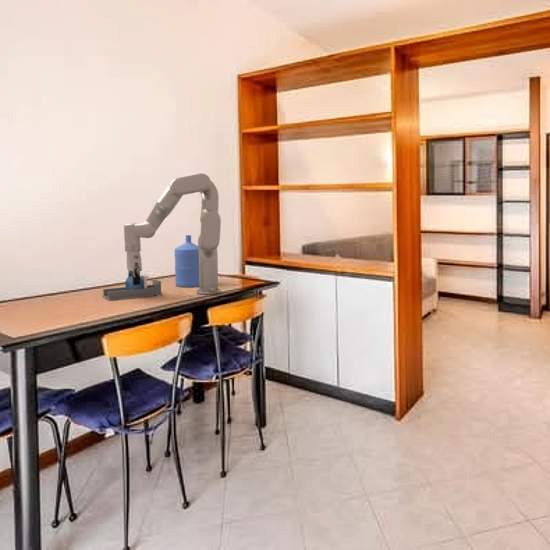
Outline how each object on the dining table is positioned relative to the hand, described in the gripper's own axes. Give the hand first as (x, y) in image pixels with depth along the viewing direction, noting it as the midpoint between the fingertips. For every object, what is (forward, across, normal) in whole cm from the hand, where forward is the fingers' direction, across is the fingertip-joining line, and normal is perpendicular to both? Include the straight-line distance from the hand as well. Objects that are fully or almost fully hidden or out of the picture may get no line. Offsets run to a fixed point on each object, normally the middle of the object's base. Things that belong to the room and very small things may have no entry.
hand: (134, 283), depth 258 cm
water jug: (+7, +16, -36) cm, 40 cm away
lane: (+6, 0, +1) cm, 6 cm away
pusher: (+5, 0, -5) cm, 7 cm away
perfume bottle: (+5, 0, 0) cm, 5 cm away
